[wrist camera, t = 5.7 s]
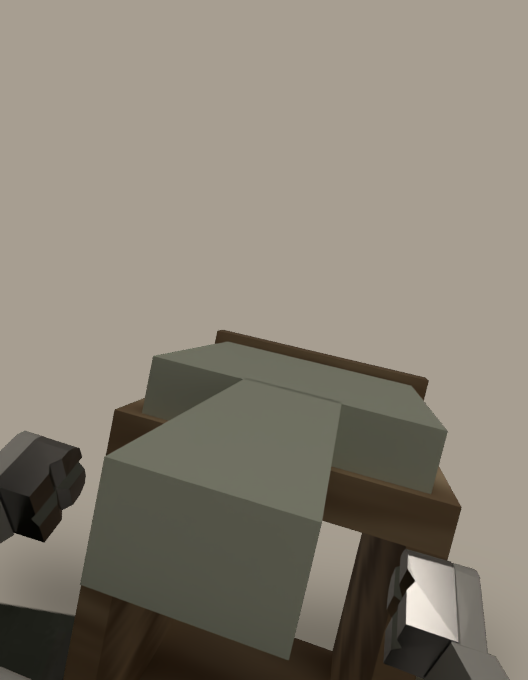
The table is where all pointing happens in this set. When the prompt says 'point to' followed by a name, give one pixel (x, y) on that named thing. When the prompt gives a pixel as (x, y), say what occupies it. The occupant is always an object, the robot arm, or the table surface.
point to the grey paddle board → (245, 484)
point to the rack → (305, 658)
